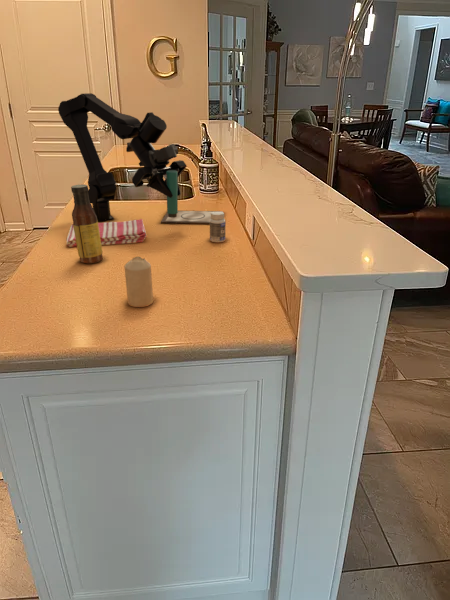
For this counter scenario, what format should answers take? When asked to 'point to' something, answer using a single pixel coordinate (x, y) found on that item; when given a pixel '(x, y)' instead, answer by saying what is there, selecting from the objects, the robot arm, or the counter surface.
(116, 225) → the dish towel
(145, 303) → the candle
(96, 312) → the counter surface
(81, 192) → the sauce bottle
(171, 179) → the dot marker
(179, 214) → the gray flat panel
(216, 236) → the pill bottle
